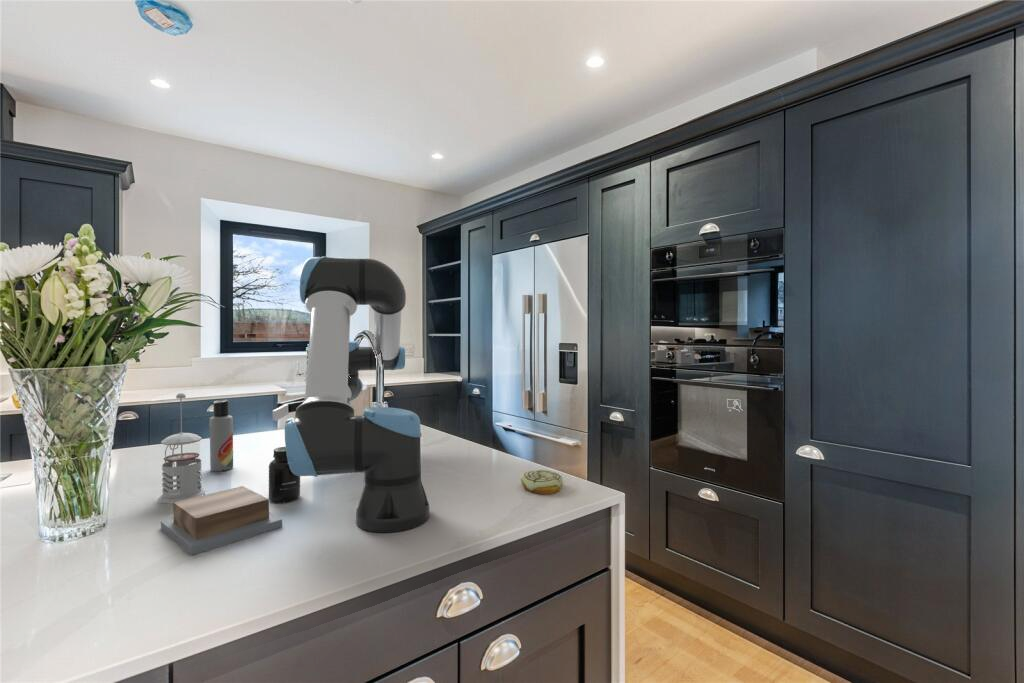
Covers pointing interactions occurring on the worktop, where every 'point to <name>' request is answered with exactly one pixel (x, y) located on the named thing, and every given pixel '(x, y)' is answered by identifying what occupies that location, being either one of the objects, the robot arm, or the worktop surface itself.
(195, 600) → the worktop surface
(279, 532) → the worktop surface
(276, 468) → the supplement bottle
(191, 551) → the plate
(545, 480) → the decorated donut
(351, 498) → the worktop surface
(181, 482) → the french press
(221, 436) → the lotion bottle
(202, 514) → the walnut pedestal
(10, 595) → the worktop surface
